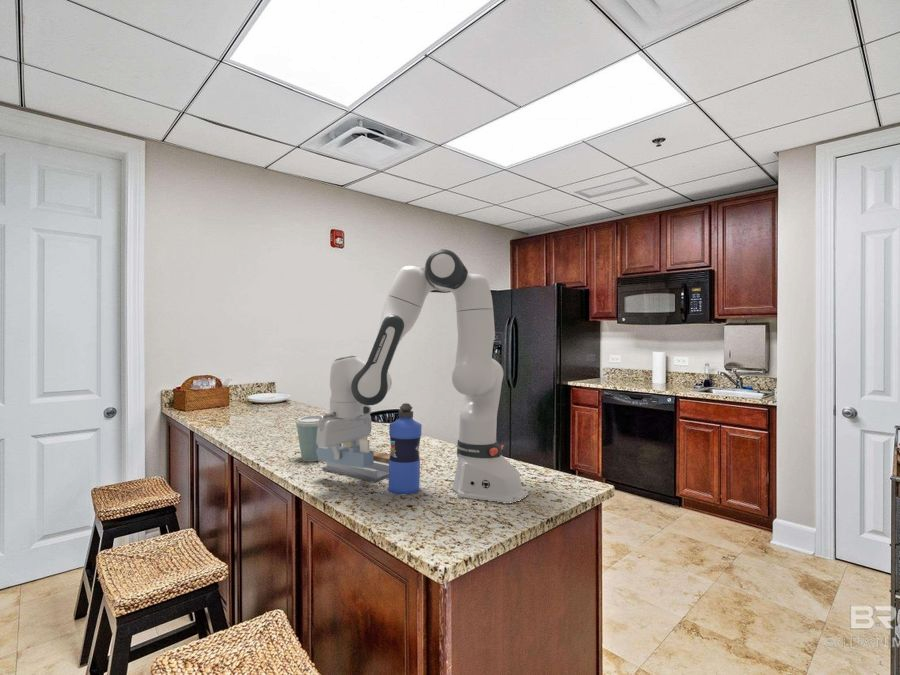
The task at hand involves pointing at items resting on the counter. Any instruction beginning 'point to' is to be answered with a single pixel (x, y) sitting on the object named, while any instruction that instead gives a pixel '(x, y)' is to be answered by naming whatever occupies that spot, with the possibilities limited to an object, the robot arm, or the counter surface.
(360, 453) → the pale blue tabbed body
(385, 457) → the brown long rectangular bar
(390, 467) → the water bottle
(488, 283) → the robot arm
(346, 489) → the counter surface
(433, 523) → the counter surface
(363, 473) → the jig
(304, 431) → the disposable coffee cup
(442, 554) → the counter surface
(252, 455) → the counter surface
